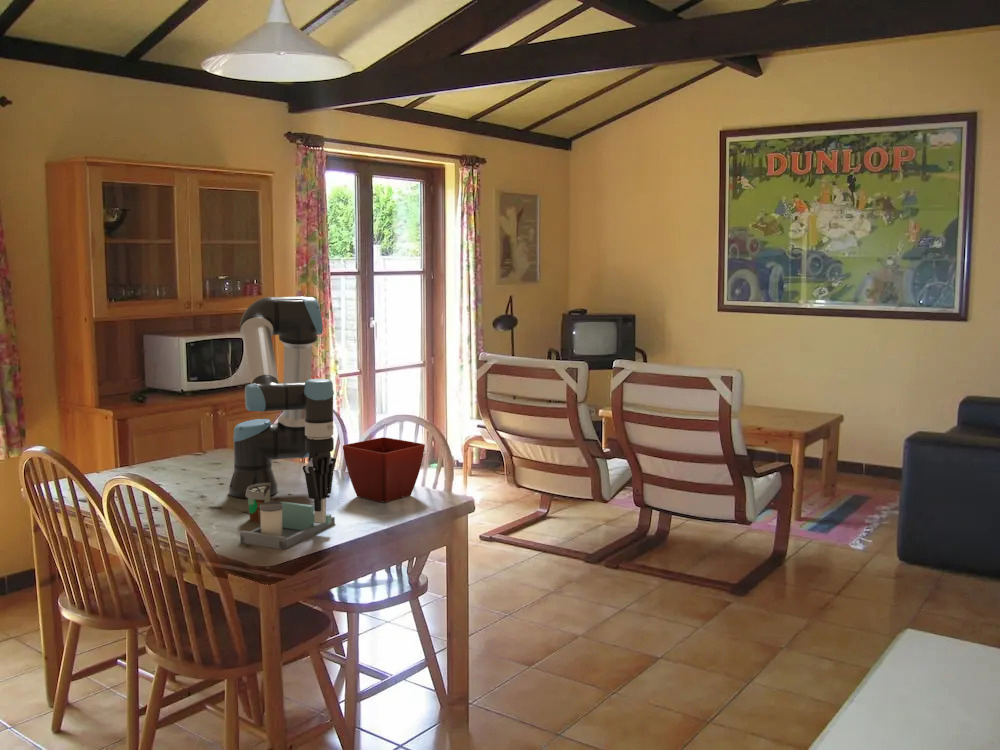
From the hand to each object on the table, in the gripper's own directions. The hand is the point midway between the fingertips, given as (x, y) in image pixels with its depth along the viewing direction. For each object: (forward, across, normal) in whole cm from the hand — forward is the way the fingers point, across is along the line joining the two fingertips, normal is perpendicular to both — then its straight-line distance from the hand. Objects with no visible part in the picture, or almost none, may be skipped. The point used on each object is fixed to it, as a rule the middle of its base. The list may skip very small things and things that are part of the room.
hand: (320, 521), depth 257 cm
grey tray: (+5, -2, +9) cm, 10 cm away
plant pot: (+5, +46, +6) cm, 47 cm away
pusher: (+4, +2, +6) cm, 7 cm away
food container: (+5, +6, +25) cm, 26 cm away
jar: (+4, -10, +9) cm, 14 cm away
